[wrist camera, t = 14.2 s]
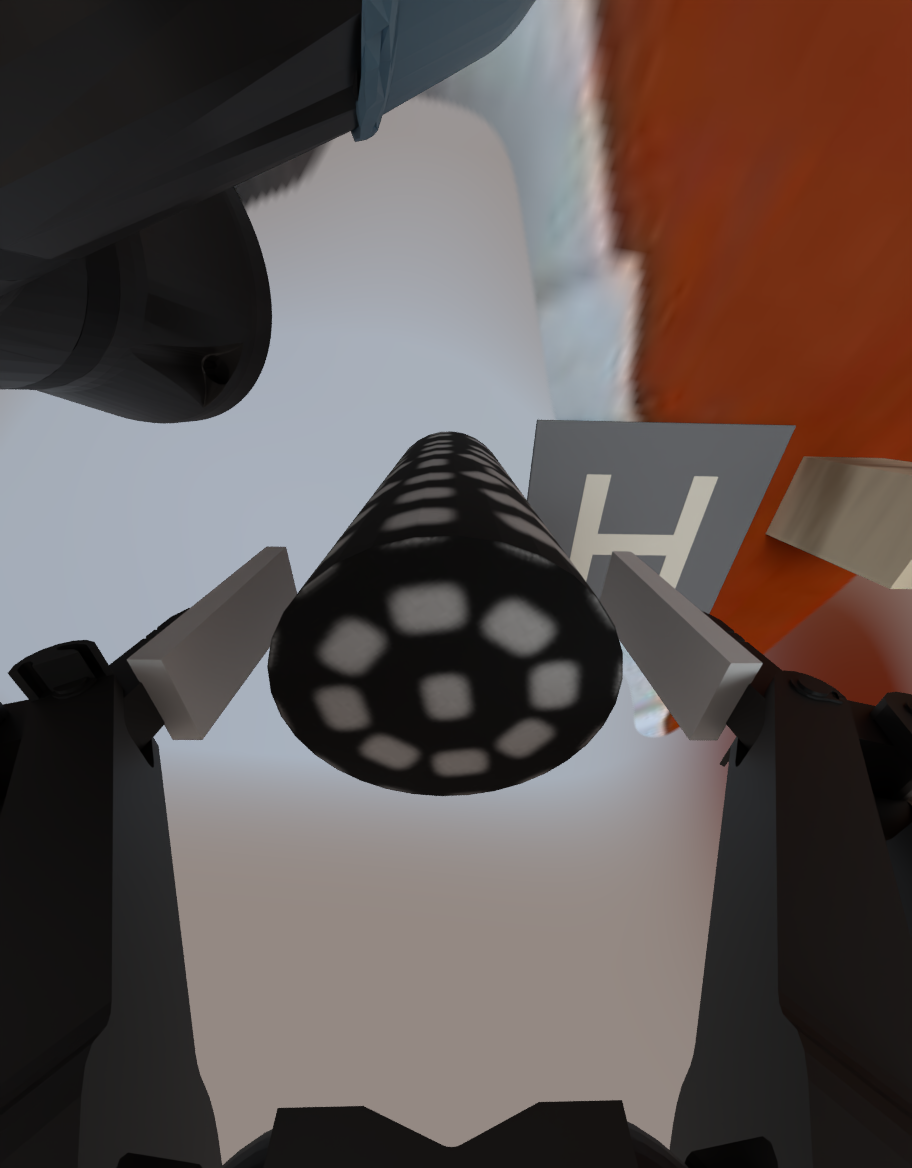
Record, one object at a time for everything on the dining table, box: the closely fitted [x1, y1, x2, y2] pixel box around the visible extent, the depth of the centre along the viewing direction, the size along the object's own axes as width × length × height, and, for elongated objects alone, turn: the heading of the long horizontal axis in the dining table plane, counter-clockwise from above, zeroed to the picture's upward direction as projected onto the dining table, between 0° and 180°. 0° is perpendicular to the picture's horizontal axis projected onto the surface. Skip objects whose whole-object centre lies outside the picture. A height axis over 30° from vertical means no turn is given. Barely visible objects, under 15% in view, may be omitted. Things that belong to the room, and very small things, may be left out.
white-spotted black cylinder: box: [268, 432, 623, 796], centre depth 17 cm, size 8×8×20 cm
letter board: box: [527, 420, 796, 614], centre depth 28 cm, size 18×18×1 cm
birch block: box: [766, 457, 912, 589], centre depth 22 cm, size 6×6×9 cm
